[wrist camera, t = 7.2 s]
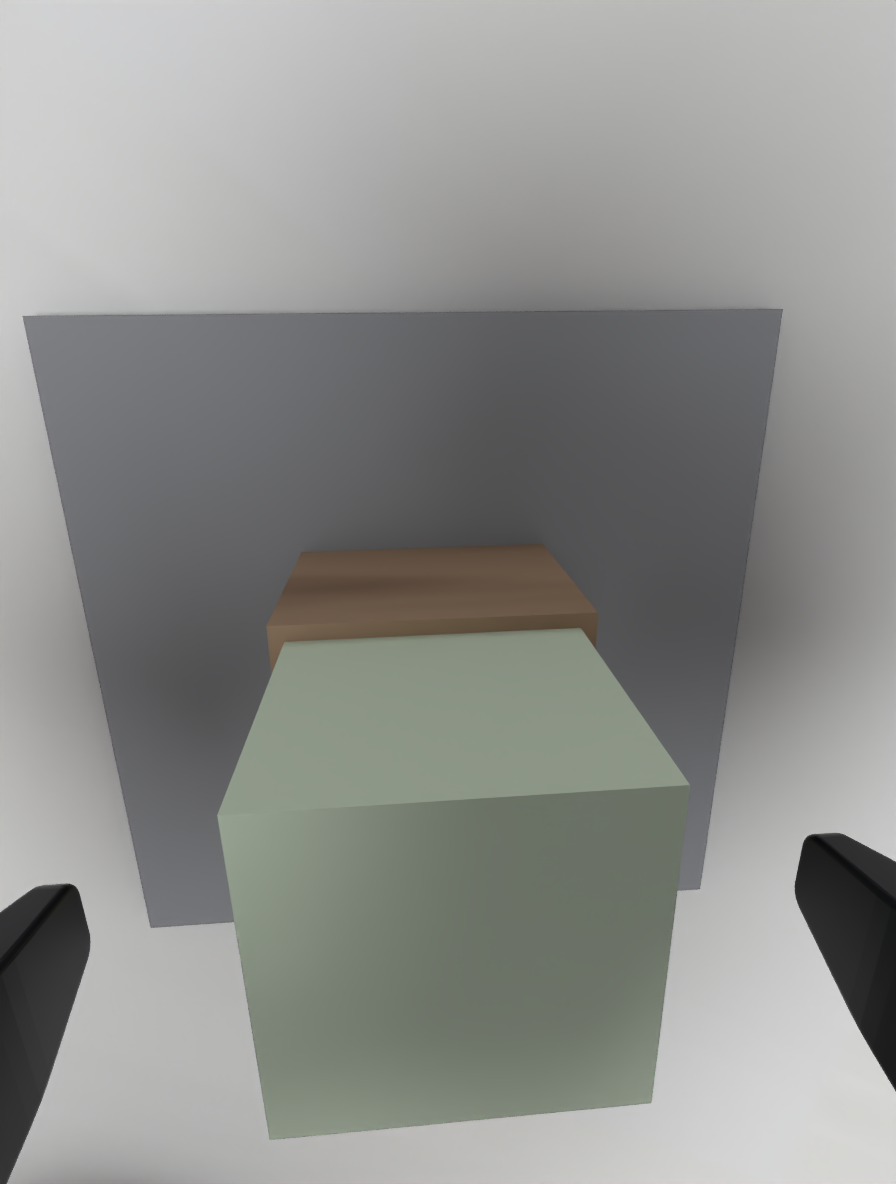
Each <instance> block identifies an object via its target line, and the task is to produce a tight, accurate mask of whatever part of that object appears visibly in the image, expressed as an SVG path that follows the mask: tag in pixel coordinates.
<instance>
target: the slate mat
mask: <svg viewBox="0 0 896 1184" xmlns="http://www.w3.org/2000/svg"><path fill="white" fill-rule="evenodd" d="M782 311H783V309H758V310H648V311H537V312H427V313H316V314H206V315H96V316H23V320H24V325H25V330H26V334H27V339H28V344H29V349H30V353H31V358H32V363H33V368H34V373H35V377H36V382H37V387H38V392H39V396H40V401H41V406H42V411H43V416H44V420H45V425H46V430H47V435H48V439H49V444H50V449H51V454H52V459H53V463H54V468H55V473H56V478H57V482H58V487H59V492H60V497H61V502H62V506H63V511H64V516H65V521H66V525H67V530H68V535H69V540H70V545H71V549H72V554H73V559H74V564H75V568H76V573H77V578H78V583H79V588H80V592H81V597H82V602H83V607H84V611H85V616H86V621H87V626H88V630H89V635H90V640H91V645H92V650H93V654H94V659H95V664H96V669H97V673H98V678H99V683H100V688H101V693H102V697H103V702H104V707H105V712H106V716H107V721H108V726H109V731H110V736H111V740H112V745H113V750H114V755H115V759H116V764H117V769H118V774H119V779H120V783H121V788H122V793H123V798H124V802H125V807H126V812H127V817H128V822H129V826H130V831H131V836H132V841H133V845H134V850H135V855H136V860H137V864H138V869H139V874H140V879H141V884H142V888H143V893H144V898H145V903H146V907H147V912H148V917H149V922H150V927H151V928H156V927H170V926H184V925H198V924H212V923H226V922H234V916H233V910H232V904H231V897H230V891H229V885H228V879H227V873H226V867H225V860H224V854H223V848H222V842H221V836H220V829H219V823H218V817H217V815H218V812H219V809H220V807H221V804H222V802H223V799H224V797H225V794H226V791H227V789H228V786H229V784H230V781H231V778H232V776H233V773H234V771H235V768H236V765H237V763H238V760H239V758H240V755H241V753H242V750H243V747H244V745H245V742H246V740H247V737H248V734H249V732H250V729H251V727H252V724H253V721H254V719H255V716H256V714H257V711H258V709H259V706H260V703H261V701H262V698H263V696H264V693H265V690H266V688H267V685H268V683H269V680H270V678H271V675H272V673H271V664H270V655H269V646H268V638H267V629H266V626H267V624H268V621H269V619H270V617H271V615H272V613H273V611H274V609H275V607H276V605H277V603H278V600H279V598H280V596H281V594H282V592H283V590H284V588H285V586H286V584H287V582H288V579H289V577H290V575H291V573H292V571H293V569H294V567H295V565H296V563H297V561H298V558H299V556H300V554H301V552H318V551H348V550H378V549H408V548H438V547H468V546H498V545H527V544H543V545H544V546H545V547H546V548H547V550H548V551H549V552H550V553H551V555H552V556H553V557H554V558H555V560H556V561H557V562H558V563H559V565H560V566H561V567H562V568H563V569H564V571H565V572H566V573H567V574H568V576H569V577H570V578H571V579H572V581H573V582H574V583H575V584H576V586H577V587H578V588H579V589H580V591H581V592H582V593H583V594H584V595H585V597H586V598H587V599H588V600H589V602H590V603H591V604H592V605H593V607H594V608H595V609H596V610H597V612H598V626H597V641H596V651H597V652H598V653H599V655H600V656H601V658H602V659H603V661H604V662H605V663H606V665H607V666H608V668H609V669H610V671H611V672H612V673H613V675H614V676H615V678H616V679H617V681H618V682H619V684H620V685H621V686H622V688H623V689H624V691H625V692H626V694H627V695H628V696H629V698H630V699H631V701H632V702H633V704H634V705H635V707H636V708H637V709H638V711H639V712H640V714H641V715H642V717H643V718H644V719H645V721H646V722H647V724H648V725H649V727H650V728H651V729H652V731H653V732H654V734H655V735H656V737H657V738H658V740H659V741H660V742H661V744H662V745H663V747H664V748H665V750H666V751H667V752H668V754H669V755H670V757H671V758H672V760H673V761H674V763H675V764H676V765H677V767H678V768H679V770H680V771H681V773H682V774H683V775H684V777H685V778H686V780H687V781H688V783H689V784H690V790H689V799H688V807H687V815H686V823H685V831H684V840H683V848H682V856H681V864H680V872H679V881H678V889H677V891H679V890H693V889H700V885H701V878H702V871H703V864H704V857H705V850H706V843H707V836H708V829H709V822H710V815H711V808H712V801H713V794H714V787H715V780H716V773H717V766H718V759H719V752H720V745H721V738H722V731H723V724H724V717H725V710H726V703H727V696H728V689H729V682H730V675H731V668H732V661H733V654H734V647H735V640H736V633H737V626H738V619H739V612H740V605H741V598H742V591H743V584H744V577H745V570H746V563H747V556H748V549H749V542H750V535H751V528H752V521H753V514H754V507H755V500H756V493H757V486H758V479H759V472H760V465H761V458H762V451H763V444H764V437H765V430H766V423H767V416H768V409H769V402H770V395H771V388H772V381H773V374H774V367H775V360H776V353H777V346H778V339H779V332H780V325H781V318H782Z"/></svg>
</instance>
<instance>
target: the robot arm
mask: <svg viewBox="0 0 896 1184" xmlns="http://www.w3.org/2000/svg"><path fill="white" fill-rule="evenodd" d="M795 895H796V900H797V903H798V906H799V908H800V910H801V912H802V914H803V916H804V918H805V920H806V922H807V924H808V927H809V929H810V931H811V933H812V935H813V937H814V939H815V941H816V943H817V945H818V947H819V949H820V951H821V953H822V955H823V957H824V959H825V962H826V964H827V966H828V968H829V970H830V972H831V974H832V976H833V978H834V980H835V982H836V984H837V986H838V988H839V990H840V992H841V994H842V996H843V999H844V1001H845V1003H846V1005H847V1007H848V1009H849V1011H850V1013H851V1015H852V1016H853V1018H854V1020H855V1022H856V1024H857V1026H858V1028H859V1030H860V1032H861V1033H862V1035H863V1037H864V1039H865V1040H866V1042H867V1044H868V1045H869V1047H870V1049H871V1051H872V1052H873V1054H874V1056H875V1057H876V1059H877V1061H878V1062H879V1064H880V1066H881V1067H882V1069H883V1071H884V1072H885V1074H886V1076H887V1077H888V1079H889V1081H890V1082H891V1084H892V1086H893V1087H894V1089H895V1091H896V862H895V861H893V860H891V859H890V858H888V857H886V856H884V855H882V854H880V853H878V852H876V851H874V850H872V849H871V848H869V847H867V846H865V845H863V844H861V843H859V842H857V841H855V840H853V839H852V838H850V837H848V836H846V835H844V834H840V833H824V834H812V835H809V836H808V837H807V838H806V839H805V840H804V842H803V846H802V851H801V856H800V861H799V866H798V871H797V876H796V881H795ZM89 952H90V933H89V929H88V925H87V921H86V917H85V913H84V909H83V906H82V902H81V898H80V894H79V891H78V889H77V888H76V887H75V886H74V885H72V884H55V885H42V886H38V887H35V888H34V889H32V890H30V891H29V892H27V893H26V894H25V895H23V896H22V897H21V898H19V899H18V900H16V901H15V902H14V903H12V904H11V905H10V906H8V907H7V908H5V909H4V910H3V911H1V912H0V1184H7V1182H8V1179H9V1177H10V1175H11V1172H12V1170H13V1168H14V1165H15V1163H16V1161H17V1158H18V1156H19V1154H20V1151H21V1149H22V1147H23V1144H24V1142H25V1140H26V1137H27V1135H28V1133H29V1130H30V1128H31V1126H32V1123H33V1121H34V1118H35V1116H36V1113H37V1111H38V1108H39V1106H40V1103H41V1101H42V1098H43V1095H44V1092H45V1089H46V1087H47V1084H48V1081H49V1078H50V1075H51V1072H52V1069H53V1066H54V1063H55V1060H56V1056H57V1053H58V1050H59V1047H60V1044H61V1041H62V1038H63V1035H64V1032H65V1029H66V1025H67V1022H68V1019H69V1016H70V1013H71V1010H72V1007H73V1004H74V1001H75V998H76V994H77V991H78V988H79V985H80V982H81V979H82V976H83V973H84V970H85V967H86V963H87V960H88V957H89Z"/></svg>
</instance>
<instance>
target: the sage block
mask: <svg viewBox="0 0 896 1184" xmlns="http://www.w3.org/2000/svg"><path fill="white" fill-rule="evenodd" d="M689 790H690V784H689V783H688V781H687V780H686V778H685V777H684V775H683V774H682V773H681V771H680V770H679V768H678V767H677V765H676V764H675V763H674V761H673V760H672V758H671V757H670V755H669V754H668V752H667V751H666V750H665V748H664V747H663V745H662V744H661V742H660V741H659V740H658V738H657V737H656V735H655V734H654V732H653V731H652V729H651V728H650V727H649V725H648V724H647V722H646V721H645V719H644V718H643V717H642V715H641V714H640V712H639V711H638V709H637V708H636V707H635V705H634V704H633V702H632V701H631V699H630V698H629V696H628V695H627V694H626V692H625V691H624V689H623V688H622V686H621V685H620V684H619V682H618V681H617V679H616V678H615V676H614V675H613V673H612V672H611V671H610V669H609V668H608V666H607V665H606V663H605V662H604V661H603V659H602V658H601V656H600V655H599V653H598V652H597V651H596V649H595V648H594V646H593V645H592V643H591V642H590V640H589V639H588V638H587V636H586V635H585V633H584V632H583V630H582V629H581V628H567V629H545V630H524V631H503V632H482V633H461V634H440V635H419V636H397V637H376V638H355V639H334V640H313V641H292V642H284V644H283V646H282V649H281V652H280V654H279V657H278V659H277V662H276V665H275V667H274V670H273V672H272V675H271V678H270V680H269V683H268V685H267V688H266V690H265V693H264V696H263V698H262V701H261V703H260V706H259V709H258V711H257V714H256V716H255V719H254V721H253V724H252V727H251V729H250V732H249V734H248V737H247V740H246V742H245V745H244V747H243V750H242V753H241V755H240V758H239V760H238V763H237V765H236V768H235V771H234V773H233V776H232V778H231V781H230V784H229V786H228V789H227V791H226V794H225V797H224V799H223V802H222V804H221V807H220V809H219V812H218V815H217V817H218V823H219V829H220V836H221V842H222V848H223V854H224V860H225V867H226V873H227V879H228V885H229V891H230V897H231V904H232V910H233V916H234V922H235V928H236V935H237V941H238V947H239V953H240V959H241V966H242V972H243V978H244V984H245V990H246V997H247V1003H248V1009H249V1015H250V1021H251V1027H252V1034H253V1040H254V1046H255V1052H256V1058H257V1065H258V1071H259V1077H260V1083H261V1089H262V1096H263V1102H264V1108H265V1114H266V1120H267V1127H268V1133H269V1139H270V1140H275V1139H285V1138H296V1137H306V1136H316V1135H327V1134H337V1133H347V1132H358V1131H368V1130H378V1129H389V1128H399V1127H409V1126H420V1125H430V1124H440V1123H451V1122H461V1121H471V1120H482V1119H492V1118H502V1117H513V1116H523V1115H533V1114H544V1113H554V1112H564V1111H575V1110H585V1109H595V1108H606V1107H616V1106H626V1105H637V1104H647V1103H651V1101H652V1093H653V1085H654V1077H655V1069H656V1061H657V1052H658V1044H659V1036H660V1028H661V1020H662V1011H663V1003H664V995H665V987H666V979H667V971H668V962H669V954H670V946H671V938H672V930H673V921H674V913H675V905H676V897H677V889H678V881H679V872H680V864H681V856H682V848H683V840H684V831H685V823H686V815H687V807H688V799H689Z"/></svg>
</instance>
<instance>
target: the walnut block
mask: <svg viewBox="0 0 896 1184" xmlns="http://www.w3.org/2000/svg"><path fill="white" fill-rule="evenodd" d="M597 626H598V612H597V610H596V609H595V608H594V607H593V605H592V604H591V603H590V602H589V600H588V599H587V598H586V597H585V595H584V594H583V593H582V592H581V591H580V589H579V588H578V587H577V586H576V584H575V583H574V582H573V581H572V579H571V578H570V577H569V576H568V574H567V573H566V572H565V571H564V569H563V568H562V567H561V566H560V565H559V563H558V562H557V561H556V560H555V558H554V557H553V556H552V555H551V553H550V552H549V551H548V550H547V548H546V547H545V546H544V545H543V544H527V545H498V546H468V547H438V548H408V549H378V550H348V551H318V552H301V554H300V556H299V558H298V561H297V563H296V565H295V567H294V569H293V571H292V573H291V575H290V577H289V579H288V582H287V584H286V586H285V588H284V590H283V592H282V594H281V596H280V598H279V600H278V603H277V605H276V607H275V609H274V611H273V613H272V615H271V617H270V619H269V621H268V624H267V626H266V629H267V638H268V646H269V655H270V664H271V673H272V672H273V670H274V667H275V665H276V662H277V659H278V657H279V654H280V652H281V649H282V646H283V644H284V642H292V641H313V640H334V639H355V638H376V637H397V636H419V635H440V634H461V633H482V632H503V631H524V630H545V629H567V628H581V629H582V630H583V632H584V633H585V635H586V636H587V638H588V639H589V640H590V642H591V643H592V645H593V646H594V648H595V649H596V641H597Z"/></svg>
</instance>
